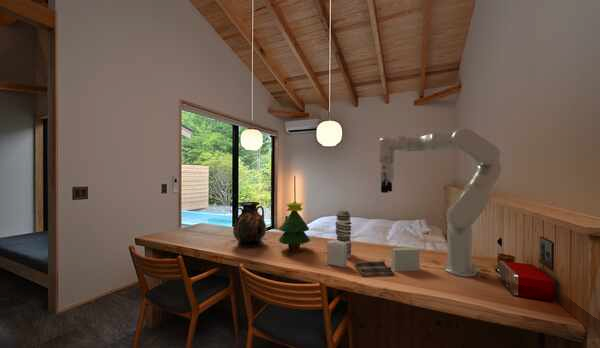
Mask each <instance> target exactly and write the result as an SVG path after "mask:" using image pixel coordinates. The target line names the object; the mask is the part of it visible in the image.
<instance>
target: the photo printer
mask: <svg viewBox="0 0 600 348" xmlns="http://www.w3.org/2000/svg"><path fill="white" fill-rule="evenodd" d="M326 250H327V251H326V264H327V265H331V266H336V267H341V268H346V267H347V263H348V262H347V258H348V257H347V247H346V244H345V243H343V242H341V241H337V239H336V240H335V239H334V240H329V241H327V245H326Z"/></svg>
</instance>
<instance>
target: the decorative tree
mask: <svg viewBox="0 0 600 348" xmlns="http://www.w3.org/2000/svg"><path fill="white" fill-rule="evenodd" d="M303 204H304V203H303V202H296V201H293V202H288V203H286V206H287V207H288V209H287V210H286V212H287V211H289V212H290V214H289V215H288V216H287V218H286V219H285V221H284V222H283V224H282V225H281V226H280V228H279V231H280V232H283V233H282V234H281V236H280V238H279V239H278V242H279V243H281V244H284V245H288V251H289V252H290V253H291V252H292V253H293V252H294V253H296V252H301V245H304V244H307V243H309V242H310V241H311V239H310V237H308V235H307V234H306V233H305V232H308V231H310V227H309V226H308V225H307V223H306V222H305V221H304V219H303V218H302V216H301V215H300V214H299V212H301V211H302V210H303V208H302V207H301V206H302V205H303Z"/></svg>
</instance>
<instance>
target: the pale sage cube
mask: <svg viewBox="0 0 600 348" xmlns="http://www.w3.org/2000/svg"><path fill="white" fill-rule="evenodd" d="M391 262H392V263H391V270H392V271H393V272H394V271H395V272H410V271H420V249H419V248H417V247H394V248H391Z"/></svg>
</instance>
